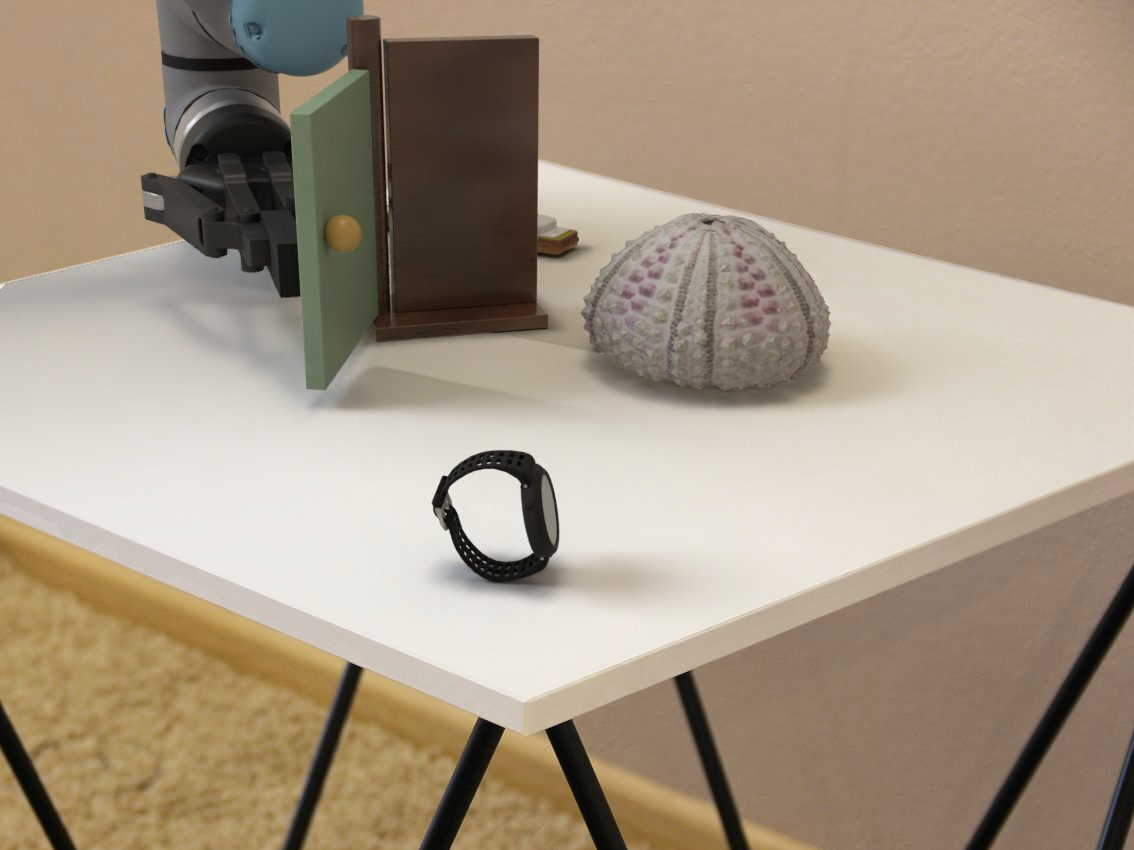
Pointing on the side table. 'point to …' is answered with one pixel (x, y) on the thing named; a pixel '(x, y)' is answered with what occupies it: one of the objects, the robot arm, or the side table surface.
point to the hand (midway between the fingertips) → (293, 270)
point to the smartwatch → (535, 509)
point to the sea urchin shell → (708, 306)
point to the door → (335, 223)
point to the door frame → (453, 180)
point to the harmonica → (549, 236)
